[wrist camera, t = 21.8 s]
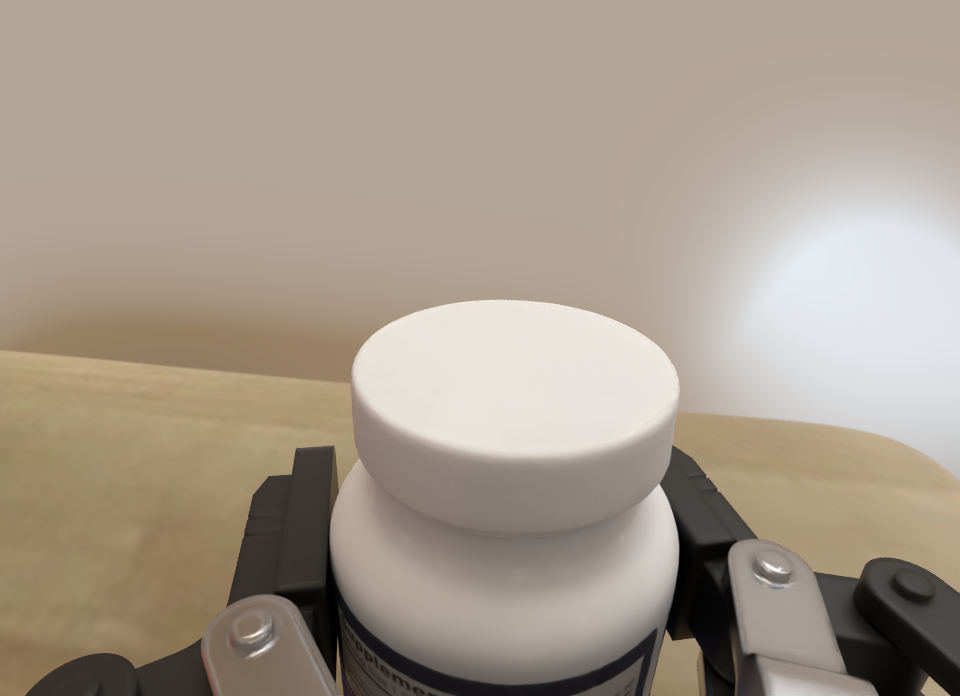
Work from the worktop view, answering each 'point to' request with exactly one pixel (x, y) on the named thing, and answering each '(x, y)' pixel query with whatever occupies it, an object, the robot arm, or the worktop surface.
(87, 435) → the worktop surface
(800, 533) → the worktop surface
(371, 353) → the pill bottle
